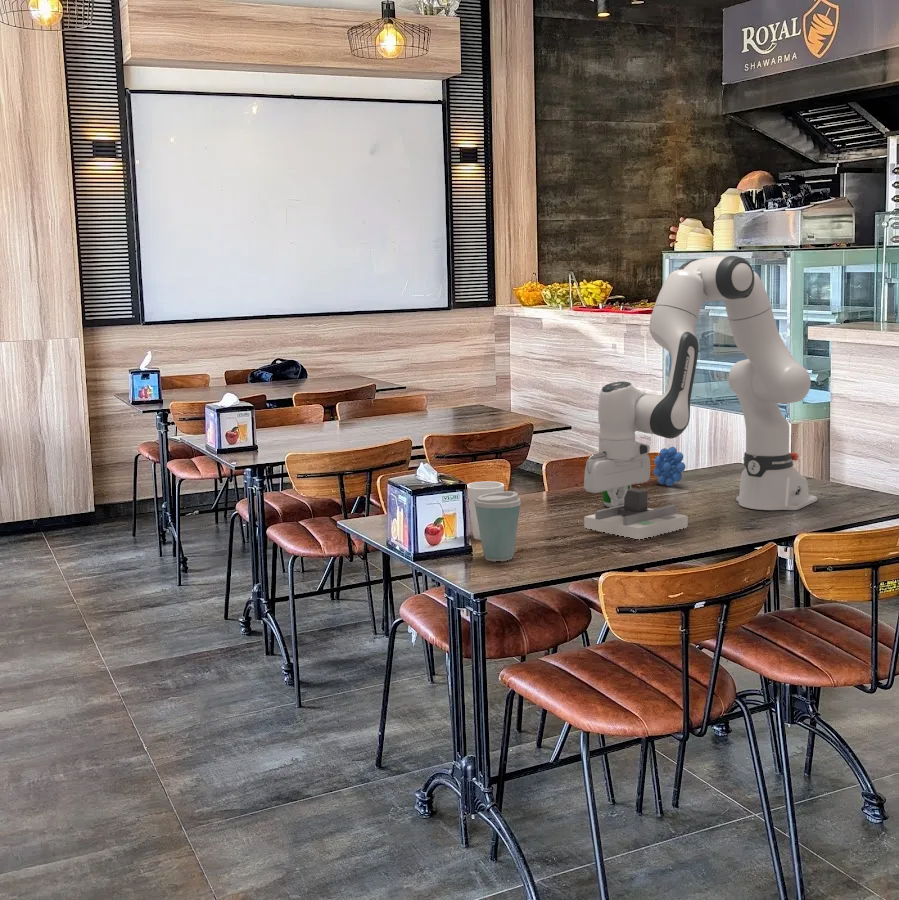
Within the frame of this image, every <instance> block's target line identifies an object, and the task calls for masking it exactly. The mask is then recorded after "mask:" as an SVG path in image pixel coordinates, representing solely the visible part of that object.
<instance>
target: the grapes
mask: <svg viewBox="0 0 899 900" xmlns="http://www.w3.org/2000/svg"><path fill="white" fill-rule="evenodd" d="M677 449H678V448H676V447H675V446H670V447H669V448H668V449H667V448H661V450H659V455H656V457H654V461H653V463H654V465H655V467H654V468H653V475H654V476H656V477H658V478H657V482H658V484H659V485H666V486H667V487H669V486H671V487H673V486H674V484H675V482H676V483H678V482H680V481H681V480H682V479H683V474H682V473H683V472H684V471H685V470H686V468H687V467H686V464H685V462H683V460H684V454H683V453H682V452H681V451H678V450H677Z"/></svg>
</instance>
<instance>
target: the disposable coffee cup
mask: <svg viewBox="0 0 899 900" xmlns="http://www.w3.org/2000/svg"><path fill="white" fill-rule="evenodd" d="M521 504H522V502H521V498H520V497H519V493H518V492H516V491H510V490H509V491H507V490H504V492H495V493H488V494H484V495H480V496H479V497H477V499H476V500H475V501H474V505H475V508H476V514H477V519H478V525H479V531H480V537H481V540H480V541H481V542H480V543H481V548H482V553H483V556H484V559H485V560H486V561H488V562H496V561H501V562H508V561H511V560H512V559H513V558H514V555H515V548H516V542H517V541H516V539H517V531H518V524H519V517H520V516H519V515H520V509H521ZM512 557H513V558H512ZM510 559H511V560H510ZM507 560H508V561H507Z"/></svg>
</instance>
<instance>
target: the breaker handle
mask: <svg viewBox="0 0 899 900" xmlns="http://www.w3.org/2000/svg"><path fill="white" fill-rule="evenodd" d="M647 500H648V490H645V489H640V488H633V487H631V488H630V489H628V490H627V493H626V495H625V497H624V508H622V509H618V514H620V515H625V516H629V515H633V514H637V513H641V512H645V511H649V509H647Z"/></svg>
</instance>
